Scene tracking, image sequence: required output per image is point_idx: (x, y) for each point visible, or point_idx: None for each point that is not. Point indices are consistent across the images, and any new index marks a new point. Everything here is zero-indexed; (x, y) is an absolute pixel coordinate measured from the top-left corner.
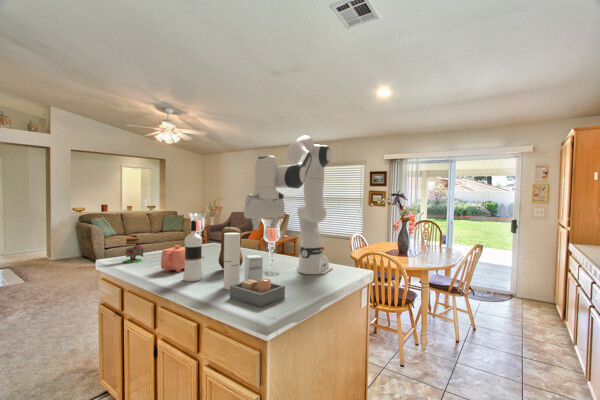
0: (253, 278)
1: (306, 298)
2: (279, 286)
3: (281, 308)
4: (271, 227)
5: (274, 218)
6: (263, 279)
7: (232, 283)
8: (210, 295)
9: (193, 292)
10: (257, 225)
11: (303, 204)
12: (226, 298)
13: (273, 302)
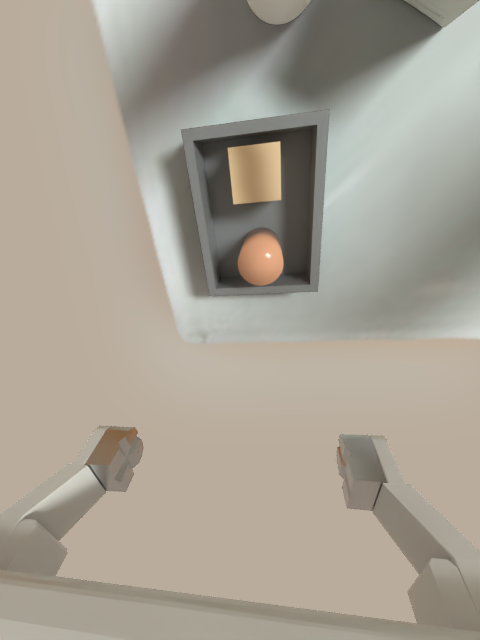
0: None
1: (346, 319)
2: (310, 275)
3: (250, 316)
4: (341, 447)
5: (417, 607)
6: (264, 252)
7: (259, 3)
8: (146, 29)
9: None
10: (98, 490)
11: None
12: None
13: None
